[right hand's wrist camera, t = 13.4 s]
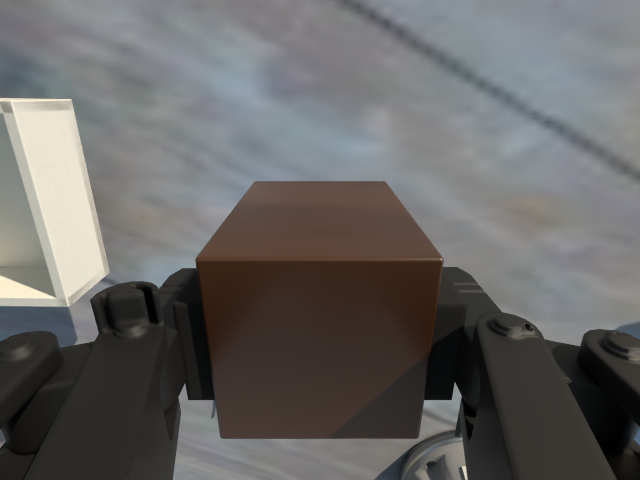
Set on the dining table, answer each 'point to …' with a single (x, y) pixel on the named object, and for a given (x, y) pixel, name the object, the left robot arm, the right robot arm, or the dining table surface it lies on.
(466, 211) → the dining table surface
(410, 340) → the walnut block
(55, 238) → the bin
